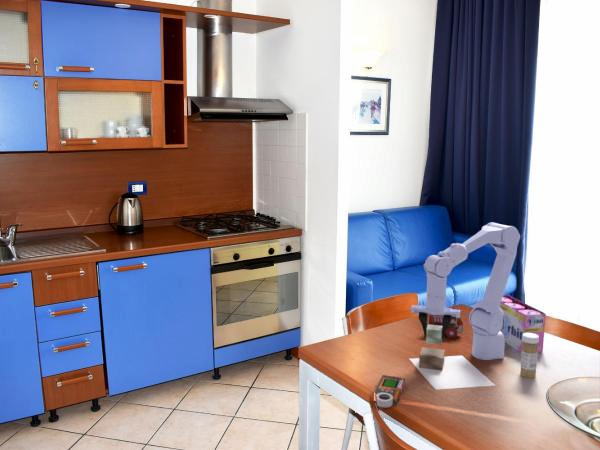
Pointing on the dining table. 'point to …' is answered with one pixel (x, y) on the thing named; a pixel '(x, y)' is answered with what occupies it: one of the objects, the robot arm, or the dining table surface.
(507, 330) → the gum box
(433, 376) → the build board
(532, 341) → the sprinkles bottle
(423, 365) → the walnut plinth
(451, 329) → the toy fire truck
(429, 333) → the sage cube
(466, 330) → the dining table surface
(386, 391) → the electronic device
